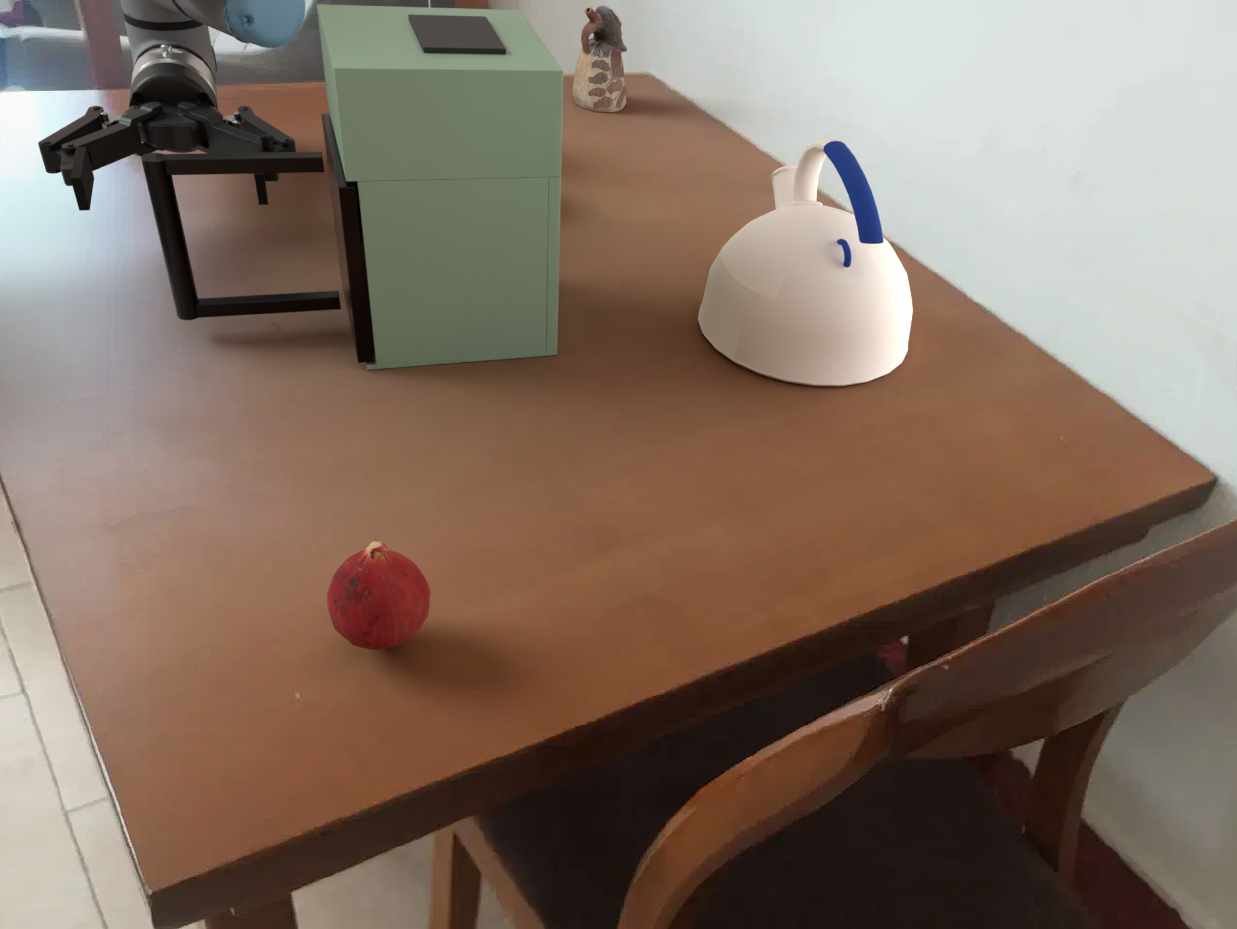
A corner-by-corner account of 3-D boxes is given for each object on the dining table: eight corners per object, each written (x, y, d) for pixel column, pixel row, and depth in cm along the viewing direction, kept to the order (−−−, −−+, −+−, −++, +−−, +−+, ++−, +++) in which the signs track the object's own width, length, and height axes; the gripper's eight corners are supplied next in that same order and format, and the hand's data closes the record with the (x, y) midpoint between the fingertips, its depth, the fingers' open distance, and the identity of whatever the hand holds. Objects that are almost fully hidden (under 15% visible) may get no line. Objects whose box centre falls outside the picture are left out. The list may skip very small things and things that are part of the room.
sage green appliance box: (366, 370, 89) (333, 62, 74) (348, 284, 100) (315, -2, 84) (557, 355, 95) (563, 64, 79) (521, 275, 105) (520, 4, 89)
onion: (376, 693, 64) (364, 594, 59) (314, 644, 66) (296, 545, 61) (452, 642, 68) (446, 545, 62) (391, 597, 70) (380, 500, 65)
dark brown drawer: (179, 377, 84) (135, 192, 75) (181, 286, 95) (142, 113, 85) (539, 349, 94) (540, 182, 84) (504, 269, 104) (502, 112, 95)
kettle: (856, 276, 114) (894, 100, 102) (944, 381, 99) (999, 191, 88) (671, 283, 108) (689, 97, 96) (736, 396, 93) (766, 194, 81)
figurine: (635, 110, 144) (642, 13, 136) (587, 114, 141) (591, 15, 133) (611, 92, 148) (615, -3, 141) (563, 95, 145) (566, -2, 137)
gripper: (13, 58, 98) (-17, 149, 83) (307, 61, 106) (326, 144, 91) (38, 141, 103) (13, 241, 88) (316, 138, 111) (336, 228, 96)
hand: (172, 192), depth 90 cm, fingers open, 13 cm apart
